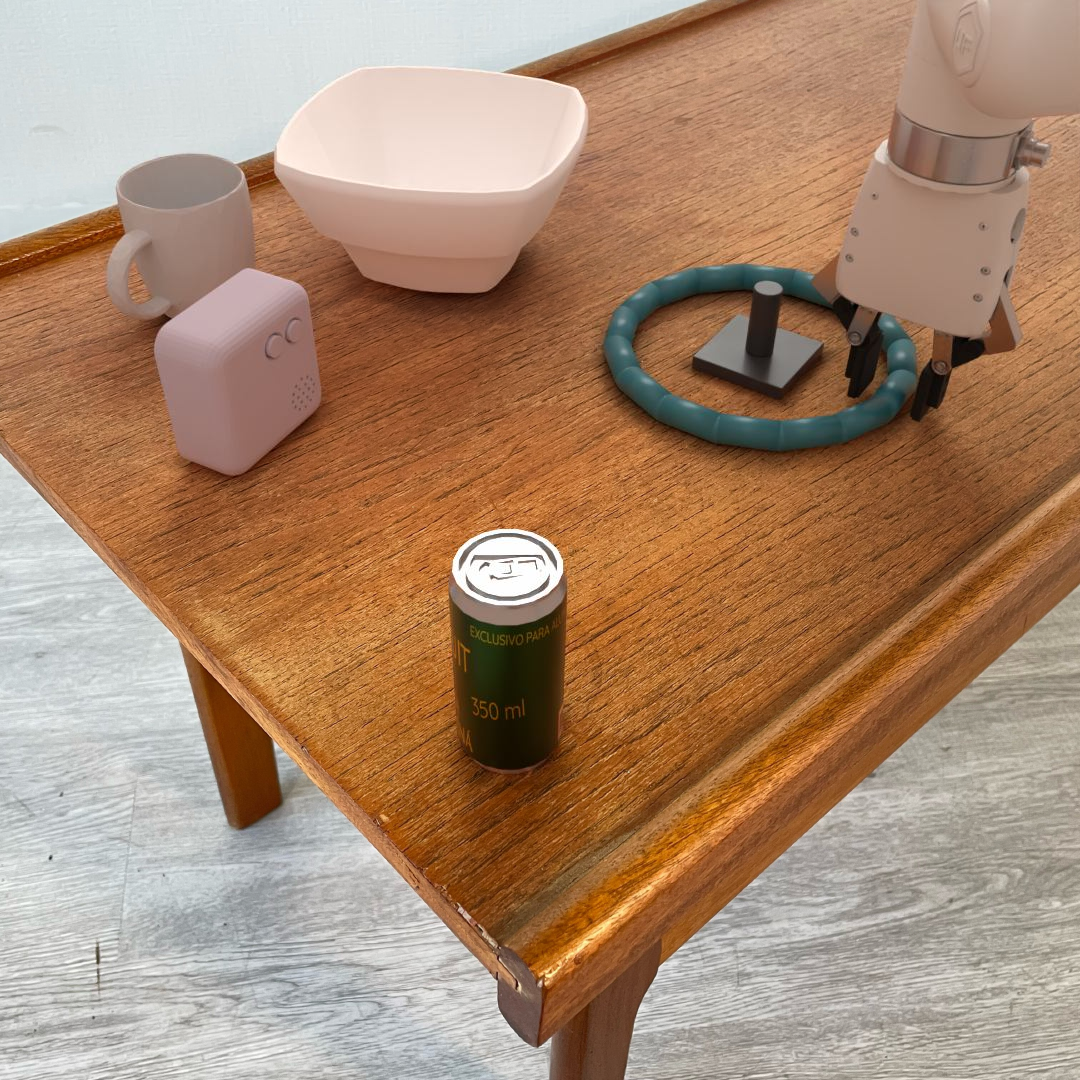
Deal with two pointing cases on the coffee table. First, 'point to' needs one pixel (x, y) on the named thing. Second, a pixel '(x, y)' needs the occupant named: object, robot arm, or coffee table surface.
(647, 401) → the ring
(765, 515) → the coffee table surface
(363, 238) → the bowl
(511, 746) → the beer can
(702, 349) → the post
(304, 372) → the electronic device
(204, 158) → the mug
